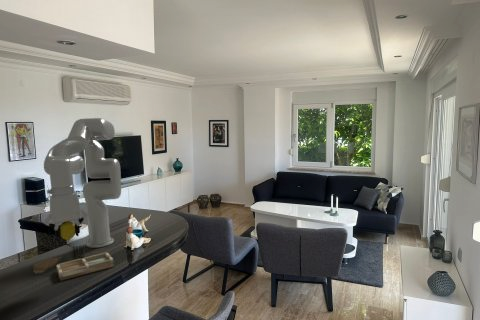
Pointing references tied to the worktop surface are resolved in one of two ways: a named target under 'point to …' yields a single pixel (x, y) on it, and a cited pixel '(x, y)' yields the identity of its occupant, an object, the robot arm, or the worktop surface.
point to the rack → (84, 265)
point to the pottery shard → (45, 265)
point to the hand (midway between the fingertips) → (68, 236)
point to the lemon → (67, 230)
